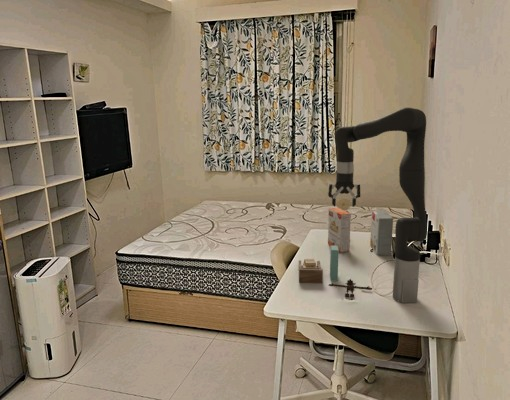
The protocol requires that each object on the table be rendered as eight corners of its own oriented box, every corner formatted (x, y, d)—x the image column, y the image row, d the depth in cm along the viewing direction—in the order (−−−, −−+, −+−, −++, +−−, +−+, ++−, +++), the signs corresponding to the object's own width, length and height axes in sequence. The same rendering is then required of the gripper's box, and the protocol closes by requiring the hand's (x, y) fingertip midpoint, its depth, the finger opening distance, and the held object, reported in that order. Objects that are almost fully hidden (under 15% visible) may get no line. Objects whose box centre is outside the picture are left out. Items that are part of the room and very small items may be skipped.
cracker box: (327, 244, 236) (328, 207, 231) (337, 243, 237) (338, 207, 233) (339, 253, 223) (340, 214, 218) (349, 251, 224) (351, 213, 220)
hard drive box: (369, 245, 234) (371, 210, 229) (383, 245, 233) (385, 210, 229) (376, 255, 218) (378, 218, 214) (391, 255, 218) (394, 218, 214)
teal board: (337, 282, 187) (338, 250, 183) (330, 282, 187) (331, 250, 183) (336, 277, 192) (337, 245, 189) (329, 277, 193) (330, 245, 189)
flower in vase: (324, 238, 245) (325, 196, 240) (337, 234, 252) (338, 193, 247) (342, 244, 235) (344, 200, 230) (355, 240, 243) (357, 197, 237)
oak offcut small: (315, 266, 195) (315, 262, 195) (305, 267, 195) (305, 262, 195) (313, 262, 200) (313, 258, 200) (304, 262, 200) (304, 258, 200)
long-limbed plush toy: (326, 291, 172) (329, 274, 185) (326, 301, 173) (329, 283, 187) (373, 296, 168) (372, 278, 181) (372, 305, 169) (371, 286, 183)
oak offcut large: (316, 273, 195) (316, 268, 194) (303, 272, 195) (303, 267, 194) (315, 267, 201) (315, 262, 201) (302, 267, 202) (303, 262, 201)
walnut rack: (322, 285, 184) (322, 270, 182) (299, 284, 185) (299, 269, 183) (319, 267, 203) (320, 253, 202) (298, 267, 204) (298, 253, 203)
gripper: (359, 170, 196) (358, 204, 199) (328, 170, 197) (327, 204, 201) (362, 172, 188) (360, 208, 192) (329, 172, 190) (328, 208, 193)
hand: (343, 206), depth 196 cm, fingers open, 8 cm apart
